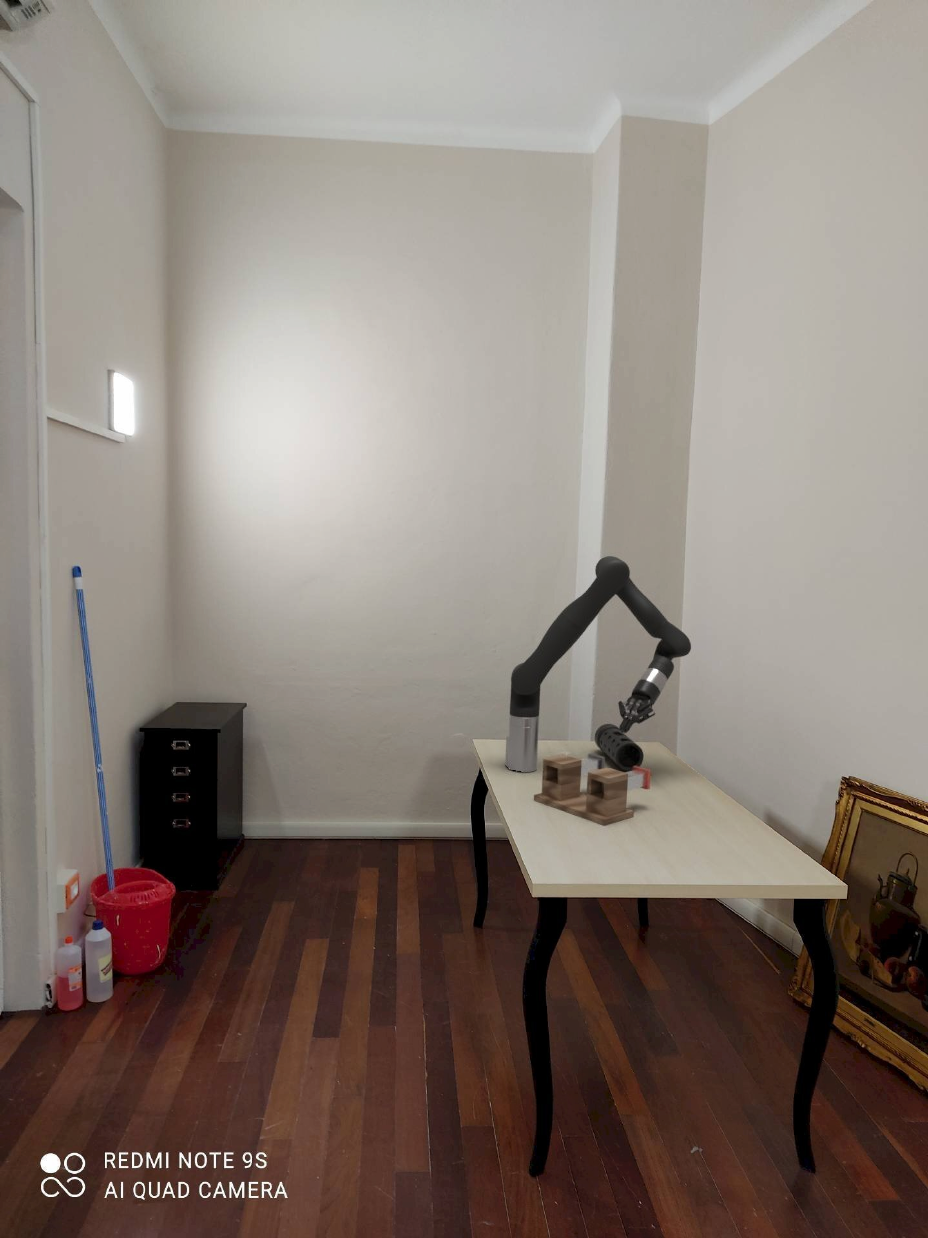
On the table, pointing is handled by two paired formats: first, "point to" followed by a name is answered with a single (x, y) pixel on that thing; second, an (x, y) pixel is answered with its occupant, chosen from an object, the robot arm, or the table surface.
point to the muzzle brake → (619, 747)
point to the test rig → (594, 804)
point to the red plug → (637, 778)
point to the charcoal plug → (591, 764)
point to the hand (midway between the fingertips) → (622, 731)
